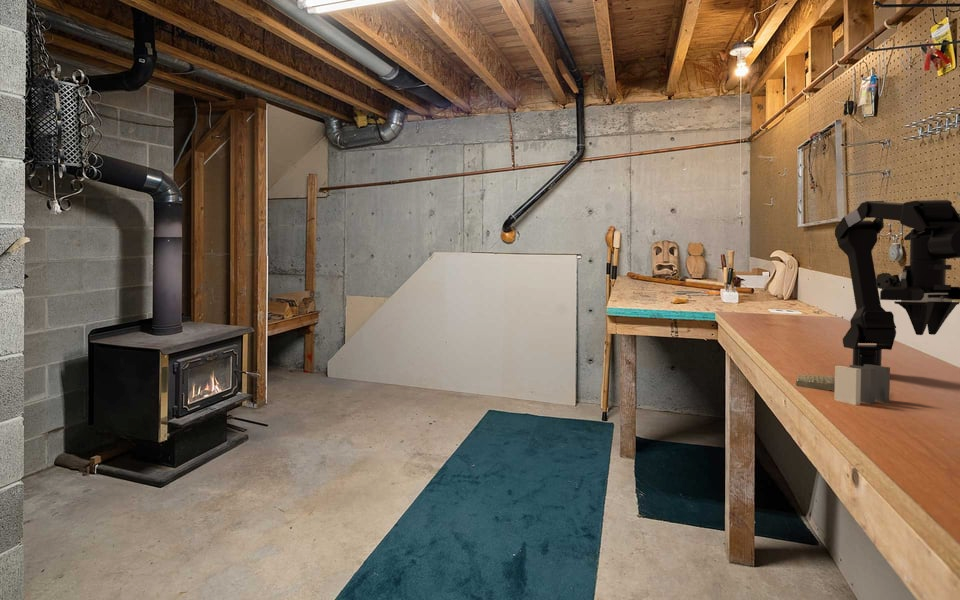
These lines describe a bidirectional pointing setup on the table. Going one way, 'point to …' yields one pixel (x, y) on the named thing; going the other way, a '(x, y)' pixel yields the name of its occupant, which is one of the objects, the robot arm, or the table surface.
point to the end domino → (847, 385)
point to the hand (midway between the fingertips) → (925, 334)
